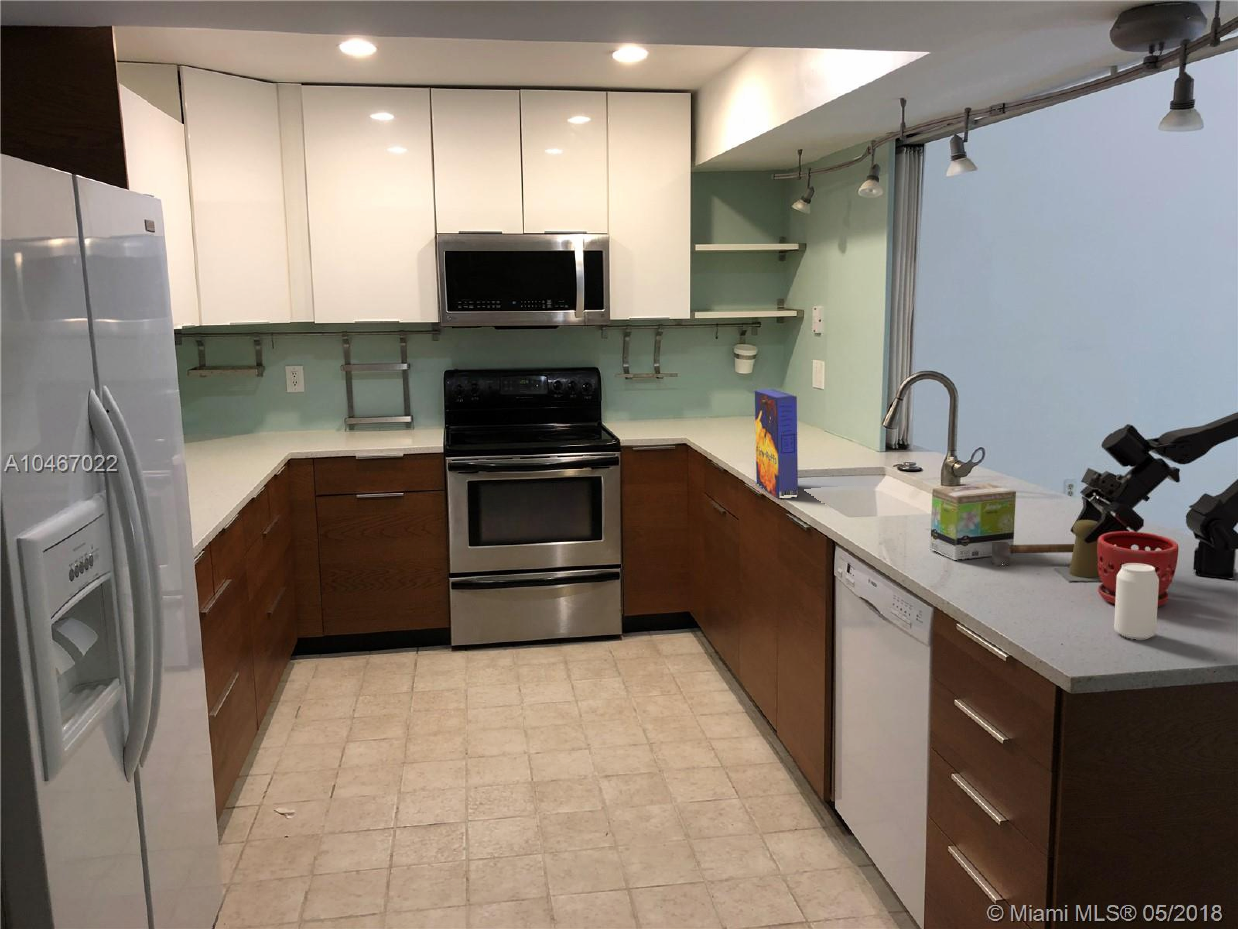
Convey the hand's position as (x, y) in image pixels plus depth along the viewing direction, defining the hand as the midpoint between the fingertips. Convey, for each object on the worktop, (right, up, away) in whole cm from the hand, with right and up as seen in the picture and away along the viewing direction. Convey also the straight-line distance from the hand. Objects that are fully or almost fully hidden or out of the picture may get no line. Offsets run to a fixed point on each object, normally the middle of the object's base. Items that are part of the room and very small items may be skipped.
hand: (1078, 537), depth 190 cm
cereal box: (-45, +6, +94) cm, 105 cm away
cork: (+2, -8, +1) cm, 8 cm away
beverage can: (-6, -14, -32) cm, 35 cm away
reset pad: (+2, -8, +1) cm, 8 cm away
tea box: (-14, -5, +21) cm, 26 cm away
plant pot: (+3, -11, -15) cm, 19 cm away
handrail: (-2, -6, +10) cm, 12 cm away
